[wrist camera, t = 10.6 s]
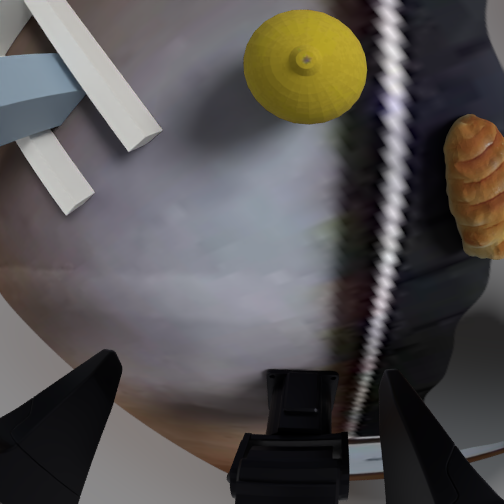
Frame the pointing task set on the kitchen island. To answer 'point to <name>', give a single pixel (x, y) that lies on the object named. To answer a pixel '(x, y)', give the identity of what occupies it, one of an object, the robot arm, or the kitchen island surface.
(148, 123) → the track
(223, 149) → the kitchen island surface
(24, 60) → the blue gray block
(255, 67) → the lemon
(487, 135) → the pastry
